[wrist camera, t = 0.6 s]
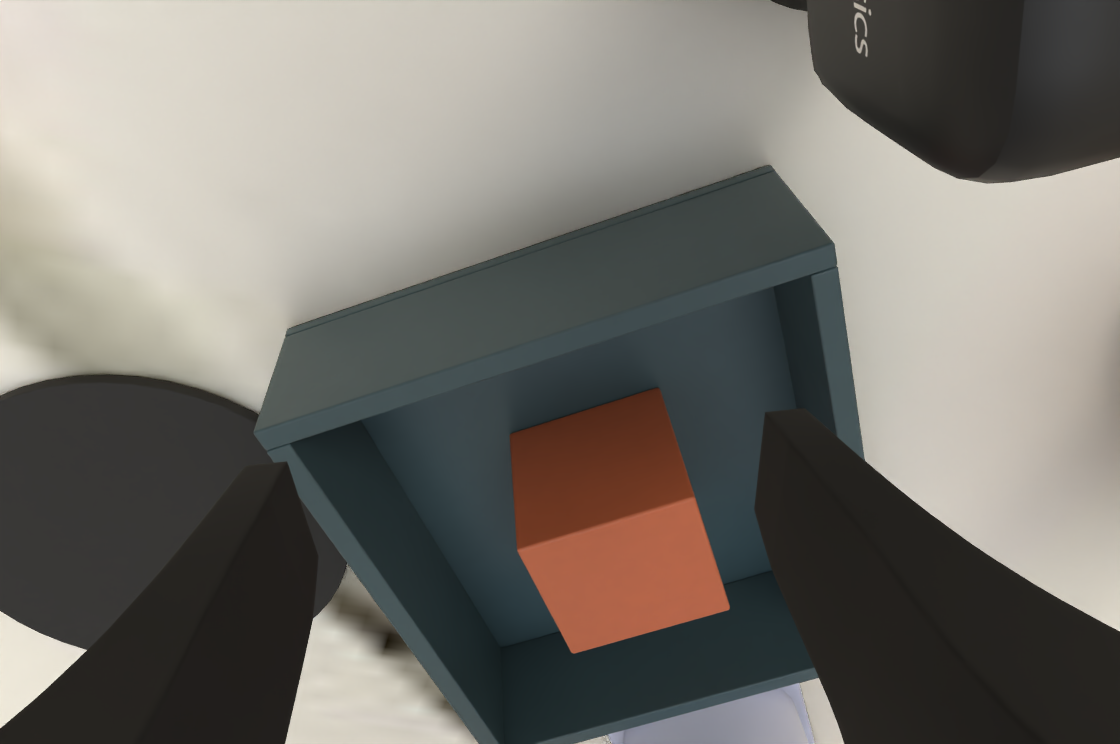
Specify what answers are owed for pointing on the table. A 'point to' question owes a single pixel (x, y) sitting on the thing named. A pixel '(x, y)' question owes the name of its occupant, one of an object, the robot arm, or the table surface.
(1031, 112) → the battery charger
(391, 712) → the table surface
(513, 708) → the tote
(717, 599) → the block
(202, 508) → the coaster
